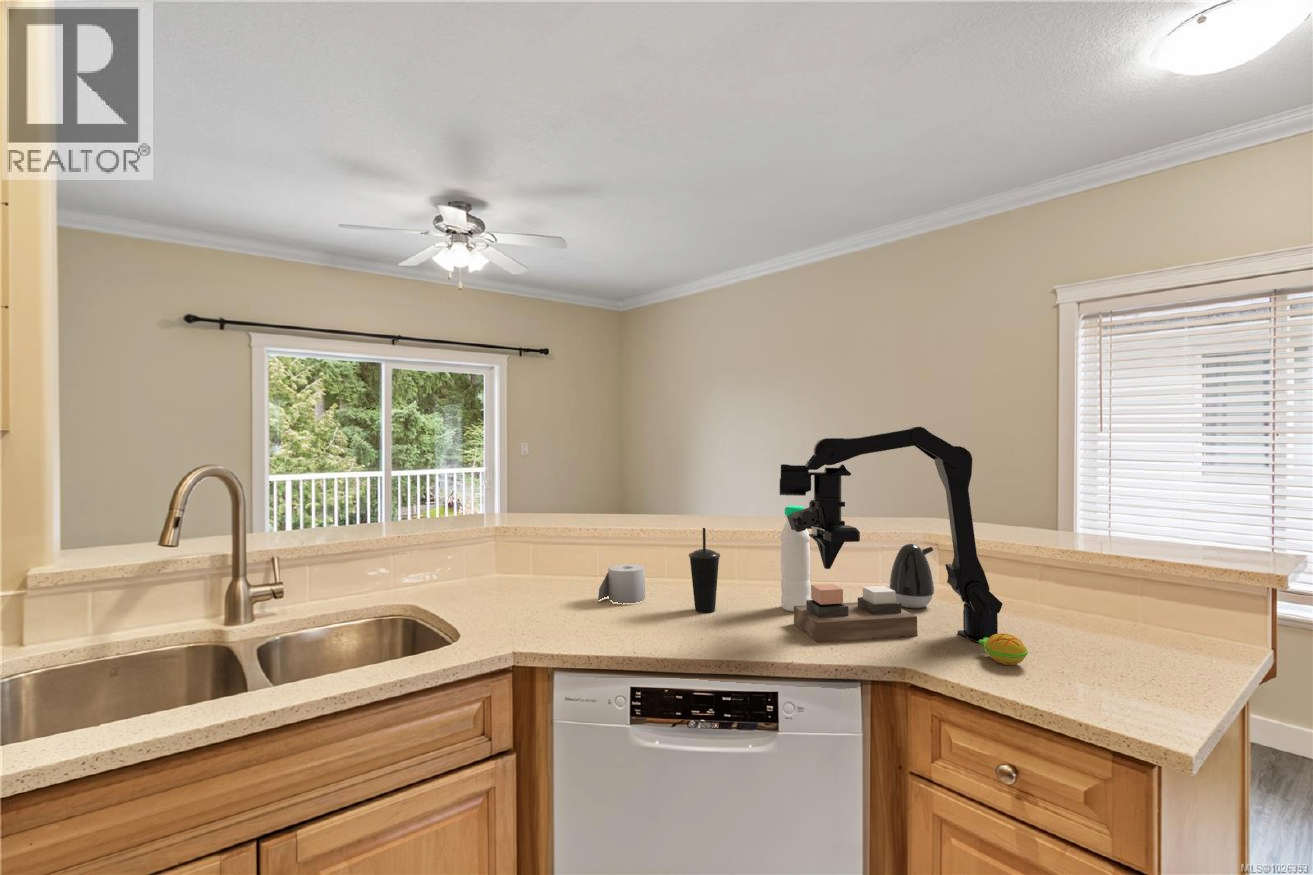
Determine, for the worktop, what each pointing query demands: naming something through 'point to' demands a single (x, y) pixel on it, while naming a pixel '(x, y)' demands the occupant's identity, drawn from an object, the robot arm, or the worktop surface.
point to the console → (854, 620)
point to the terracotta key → (827, 594)
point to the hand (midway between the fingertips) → (827, 568)
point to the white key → (879, 595)
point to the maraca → (1005, 648)
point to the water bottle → (794, 564)
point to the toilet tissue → (624, 583)
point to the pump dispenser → (912, 577)
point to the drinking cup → (704, 577)
